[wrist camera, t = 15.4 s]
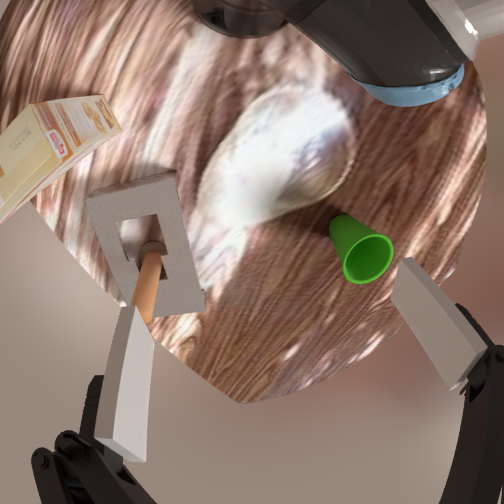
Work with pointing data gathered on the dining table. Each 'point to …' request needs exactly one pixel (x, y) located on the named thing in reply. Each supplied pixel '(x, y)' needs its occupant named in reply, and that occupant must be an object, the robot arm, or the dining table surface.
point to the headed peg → (148, 278)
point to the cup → (360, 249)
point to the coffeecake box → (49, 145)
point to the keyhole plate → (174, 233)
